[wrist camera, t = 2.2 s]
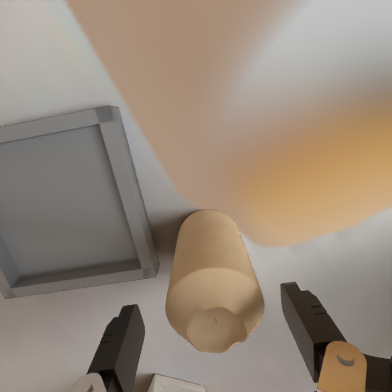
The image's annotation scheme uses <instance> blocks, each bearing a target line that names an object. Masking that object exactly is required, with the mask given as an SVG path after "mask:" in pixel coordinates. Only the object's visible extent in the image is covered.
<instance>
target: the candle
mask: <svg viewBox="0 0 392 392" xmlns="http://www.w3.org/2000/svg"><path fill="white" fill-rule="evenodd" d="M264 307H265V306H264V299H263V295H262V292H261V289H260V286H259V284H258V281H257V278H256V275H255V273H254V270H253V267H252V264H251V261H250V259H249V256H248V253H247V250H246V248H245V245H244V242H243V239H242V236H241V234H240V231H239V229H238V226H237V225H236V223H235V222H234V220H233V219H232V218H231V217H230V216H229V215H227V214H226V213H224V212H222V211H219V210H214V209H204V210H200V211H197V212H195V213H193V214H191V215H190V216H188V217H187V218H186V219H185V221H184V222H183V224H182V225H181V227H180V230H179V234H178V238H177V244H176V249H175V255H174V260H173V265H172V271H171V276H170V282H169V287H168V293H167V298H166V306H165V308H166V315H167V318H168V321H169V323H170V324H171V326H172V327H173V329H174V330H175V331H176V332H177V333H178V334H179V335H181V336H182V337H183V338H184V339H186V340H187V341H188V342H190V343H191V344H192V345H193V346H194V347H195V348H196V349H197V350H199V351H203V352H211V353H222V352H225V351H227V350H228V349H229V348H231V347H232V346H234V345H236V344H238V343H239V342H243V341H245V340H246V339H247V337H248V336H249V335H250V334H251V333H252V332H253V331H254V330H255V329H256V328H257V327H258V325H259V323H260V322H261V320H262V317H263V314H264Z"/></svg>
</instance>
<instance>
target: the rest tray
mask: <svg viewBox="0 0 392 392" xmlns="http://www.w3.org/2000/svg"><path fill="white" fill-rule="evenodd" d="M159 265H160V262H159V258H158V255H157V251H156V247H155V243H154V239H153V236H152V232H151V228H150V224H149V221H148V217H147V213H146V209H145V206H144V202H143V198H142V194H141V190H140V187H139V183H138V179H137V175H136V172H135V168H134V164H133V160H132V157H131V153H130V149H129V145H128V141H127V138H126V134H125V130H124V126H123V123H122V119H121V115H120V111H119V108H118V107H113V106H105V107H100V108H95V109H90V110H85V111H80V112H75V113H70V114H65V115H60V116H55V117H50V118H45V119H40V120H35V121H30V122H25V123H20V124H15V125H10V126H5V127H0V290H1V292H2V294H3V296H4V298H5V299H9V298H16V297H22V296H29V295H36V294H43V293H50V292H57V291H64V290H71V289H78V288H85V287H91V286H98V285H105V284H112V283H119V282H126V281H133V280H140V279H147V278H154V277H156V276H157V272H158V269H159Z"/></svg>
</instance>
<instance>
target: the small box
mask: <svg viewBox="0 0 392 392" xmlns="http://www.w3.org/2000/svg"><path fill="white" fill-rule="evenodd" d="M148 392H206V389H205V386H203V385H199V384H194V383H190V382H186V381H182V380H178V379H175V378H171V377H167V376H162V375H158V374H155V375H154V377H153V380H152V382H151V384H150V387H149V389H148Z"/></svg>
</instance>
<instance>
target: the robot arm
mask: <svg viewBox="0 0 392 392" xmlns="http://www.w3.org/2000/svg"><path fill="white" fill-rule="evenodd" d="M280 287H281V301H282V309H283V313H284V316H285V319H286V321H287V323H288V326H289V328H290V330H291V332H292V334H293V337H294V339H295V341H296V343H297V346H298V348H299V350H300V352H301V354H302V357H303V359H304V361H305V363H306V366H307V368H308V370H309V372H310V375H311V377H312V379H313V381H314V383H317V382H318V386H317V390H316V392H392V356H391V359H385V358H380V357H374V356H369V355H366V354H364V353H362V352H361V351H360V350H359V349H358V348H356V347H355V346H353V345H352V344H349V343H348V342H347V341H346V340H345V338H344V337H343V335H342V334H341V332H340V331H339V329H338V328H337V326H336V325H335V323H334V322H333V320H332V319H331V317H330V316H329V315H328V314H327V312H326V310H325V309H324V307H323V306H322V304H321V303H320V301H319V300H318V298H317V297H316V296H315V295H313V294H312V293H311V292H309V291H308V290H306V291H301V290H300V289H299V287H298V285H297V284H296V282H289V283H282V284H281V285H280ZM144 336H145V326H144V323H143V319H142V316H141V313H140V310H139V307H138V305H137V304H134V305H127V306H123V307H122V309H121V312H120V314H119V317H114V318H113V319H112V321H111V322H110V323H109V324H108V325H107V327H106V330H105V332H104V334H103V337H102V339H101V341H100V345H99V346H98V349H97V351H96V353H95V356H94V358H93V360H92V363H91V365H90V367H89V370H88V372H87V374H86V375H85V376H83V377H82V378H80V379H79V380H78V381H77V382H76V383H75V384H74V386H73V387H72V389H71V390H70V392H132V388H133V384H134V380H135V375H136V371H137V367H138V363H139V358H140V354H141V350H142V345H143V341H144ZM314 392H315V391H314Z"/></svg>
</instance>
